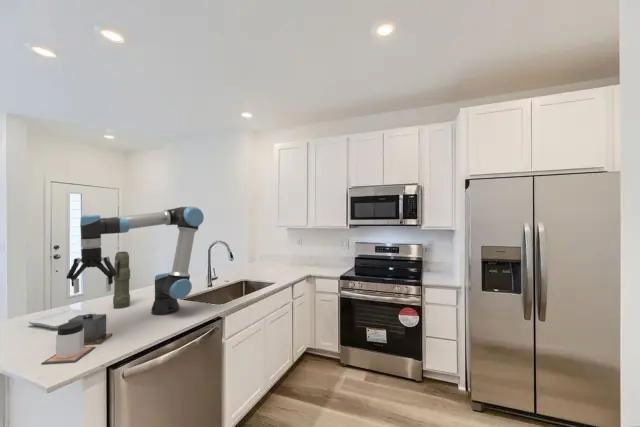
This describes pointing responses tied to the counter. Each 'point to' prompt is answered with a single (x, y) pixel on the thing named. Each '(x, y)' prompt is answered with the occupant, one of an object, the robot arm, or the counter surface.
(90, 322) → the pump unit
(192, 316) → the counter surface
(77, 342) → the jar
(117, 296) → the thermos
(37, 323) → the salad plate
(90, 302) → the counter surface
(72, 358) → the mat
